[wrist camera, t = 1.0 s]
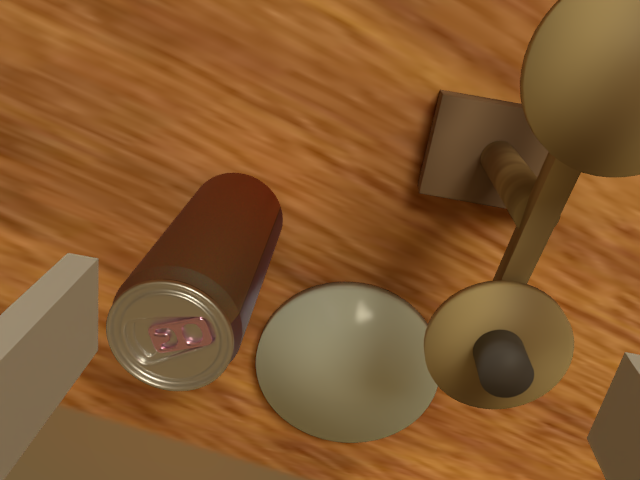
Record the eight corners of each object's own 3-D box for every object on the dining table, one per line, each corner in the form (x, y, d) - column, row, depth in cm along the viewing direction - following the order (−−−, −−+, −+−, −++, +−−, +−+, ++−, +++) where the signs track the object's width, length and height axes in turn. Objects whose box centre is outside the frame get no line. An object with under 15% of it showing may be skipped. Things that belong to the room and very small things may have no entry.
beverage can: (294, 244, 40) (253, 384, 27) (210, 261, 41) (130, 404, 28) (270, 160, 38) (212, 265, 24) (182, 180, 39) (79, 292, 25)
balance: (393, 285, 41) (404, 444, 27) (472, -47, 32) (546, -60, 19) (510, 306, 41) (579, 476, 27) (619, -21, 32) (802, -16, 19)
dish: (249, 415, 46) (246, 425, 45) (270, 266, 41) (267, 274, 40) (415, 445, 46) (417, 456, 45) (458, 300, 41) (460, 309, 40)
